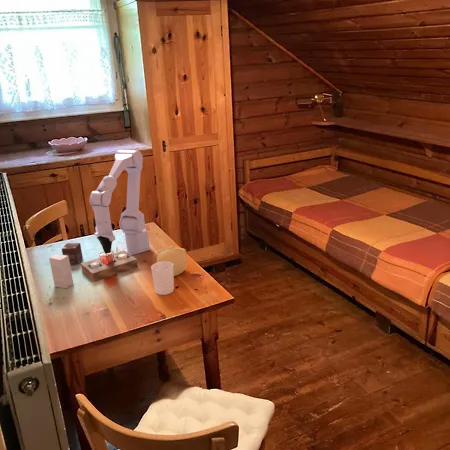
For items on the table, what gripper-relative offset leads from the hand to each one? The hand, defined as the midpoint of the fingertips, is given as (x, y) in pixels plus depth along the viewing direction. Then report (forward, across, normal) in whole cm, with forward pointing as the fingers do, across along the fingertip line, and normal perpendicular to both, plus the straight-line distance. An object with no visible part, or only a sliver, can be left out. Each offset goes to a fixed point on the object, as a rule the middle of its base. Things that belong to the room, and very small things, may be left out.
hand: (107, 252), depth 199 cm
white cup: (+8, +31, +8) cm, 33 cm away
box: (+8, -18, -8) cm, 21 cm away
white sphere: (+7, 0, -6) cm, 9 cm away
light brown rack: (+7, 0, 0) cm, 7 cm away
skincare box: (+8, +1, -20) cm, 21 cm away
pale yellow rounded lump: (+8, +20, +18) cm, 28 cm away
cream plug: (+7, 0, +6) cm, 9 cm away
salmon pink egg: (+5, 0, 0) cm, 5 cm away
